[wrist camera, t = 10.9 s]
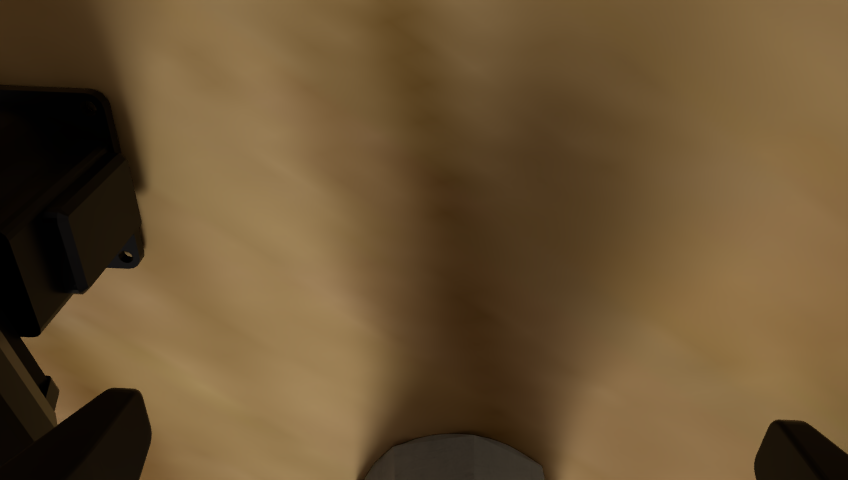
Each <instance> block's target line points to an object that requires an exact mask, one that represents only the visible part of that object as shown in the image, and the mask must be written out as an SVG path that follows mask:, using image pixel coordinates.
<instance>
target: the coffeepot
mask: <svg viewBox="0 0 848 480" xmlns="http://www.w3.org/2000/svg"><path fill="white" fill-rule="evenodd" d="M364 480H545V478H544V473H543V469H542V466H541V465H539V464H538V463H536V462H535V461H533V460H532V459H530V458H529V457H527V456H526V455H524V454H523V453H521V452H519V451H517V450H516V449H514V448H512V447H510V446H509V445H506V444H504V443H501V442H498V441H495V440H493V439H489V438H485V437H480V436H476V435H467V434H441V435H432V436H427V437H422V438H417V439H414V440H411V441H409V442H406V443H404V444H401V445H397V446H393V447H392V448H391V449H390V450H389V451H387V452H386V453H385V454H384V455H383V456H382V457H381V458H380V459H379V460H378V461H376V462H375V463H374V465H373V466H372V468H371V469H370V471H369V472H368V474H367V475H366V477H365V479H364Z"/></svg>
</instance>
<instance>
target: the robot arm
mask: <svg viewBox="0 0 848 480" xmlns="http://www.w3.org/2000/svg"><path fill="white" fill-rule="evenodd" d="M86 101H89V102H92V103H93V104H94V105H95V107H96V109H97V112H94V111H91V110H90V109H89V108H88V106H87V105H86ZM140 225H141V217H140V212H139V208H138V204H137V199H136V195H135V191H134V186H133V182H132V177H131V173H130V169H129V164H128V160H127V159H126V158H125V157H124V156H123V154H121V150H120V145H119V141H118V137H117V133H116V128H115V124H114V120H113V115H112V111H111V107H110V104H109V101H108V99H107V98H106V97H105V96H104V95H103V94H102V93H101V92H99V91H97V90H93V89H82V88H57V87H32V86H7V85H0V480H139V479H140V476H141V472H142V469H143V466H144V463H145V460H146V456H147V453H148V450H149V447H150V443H151V435H152V432H151V425H150V422H149V418H148V414H147V411H146V407H145V403H144V400H143V396H142V394H141V392H140V391H139V390H137V389H130V388H110V389H108V390H106V391H104V392H103V393H101V394H100V395H98V396H97V397H96V398H94V399H93V400H92V401H90V402H89V403H87V404H86V405H85V406H83V407H82V408H80V409H79V410H78V411H76V412H75V413H74V414H72V415H71V416H69V417H68V418H67V419H65V420H64V421H63V422H61V423H60V424H58V425H57V419H56V414H55V412H54V411H55V407H56V403H57V399H58V395H59V389H58V387H57V386H56V384H55V383H54V381H53V380H52V378H51V377H50V376H45V375H44V373H43V372H42V370H41V369H40V367H39V365H38V364H37V362H36V361H35V359H34V358H33V356H32V355H31V353H30V352H29V350H28V349H27V347H26V345H25V344H24V342H23V341H22V339H21V338H20V337H37V336H39V335H40V334H41V332H42V331H43V330H44V329H45V328H46V326H47V325H48V324H49V323H50V322H51V320H52V319H53V318H54V317H55V316H56V314H57V313H58V312H59V311H60V310H61V308H62V307H63V306H64V305H65V304H66V302H67V301H68V300H69V299H70V297H71V296H72V295H73V294H84V293H85V292H86V291H87V290H88V289H89V288H90V287H91V286H92V285H93V284H94V282H95V281H96V280H97V279H98V277H99V276H100V275H101V274H102V272H103V271H104V270H105V269H106V268H125V269H130V268H135V267H136V266H138V264H139V263H140V262H141V260H142V259H143V257H144V249H143V244H142V240H141V236H140V231H139V226H140ZM124 251H127V252H129V253H130V254H131V255H132V256H133V257H130V256H127V255H126V254H125V253H124ZM754 470H755V476H756V480H848V454H847V453H845V452H844V451H843V450H842V449H840V448H839V447H838V446H836V445H835V444H834V443H833V442H831V441H830V440H829V439H828V438H826V437H825V436H824V435H822V434H821V433H820V432H819V431H817V430H816V429H815V428H814V427H812V426H811V425H809V424H808V423H806V422H804V421H798V420H775V421H773V422H772V423H771V424H770V425H769V427H768V430H767V432H766V434H765V436H764V439H763V441H762V443H761V446H760V448H759V450H758V452H757V455H756V458H755V462H754Z"/></svg>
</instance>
